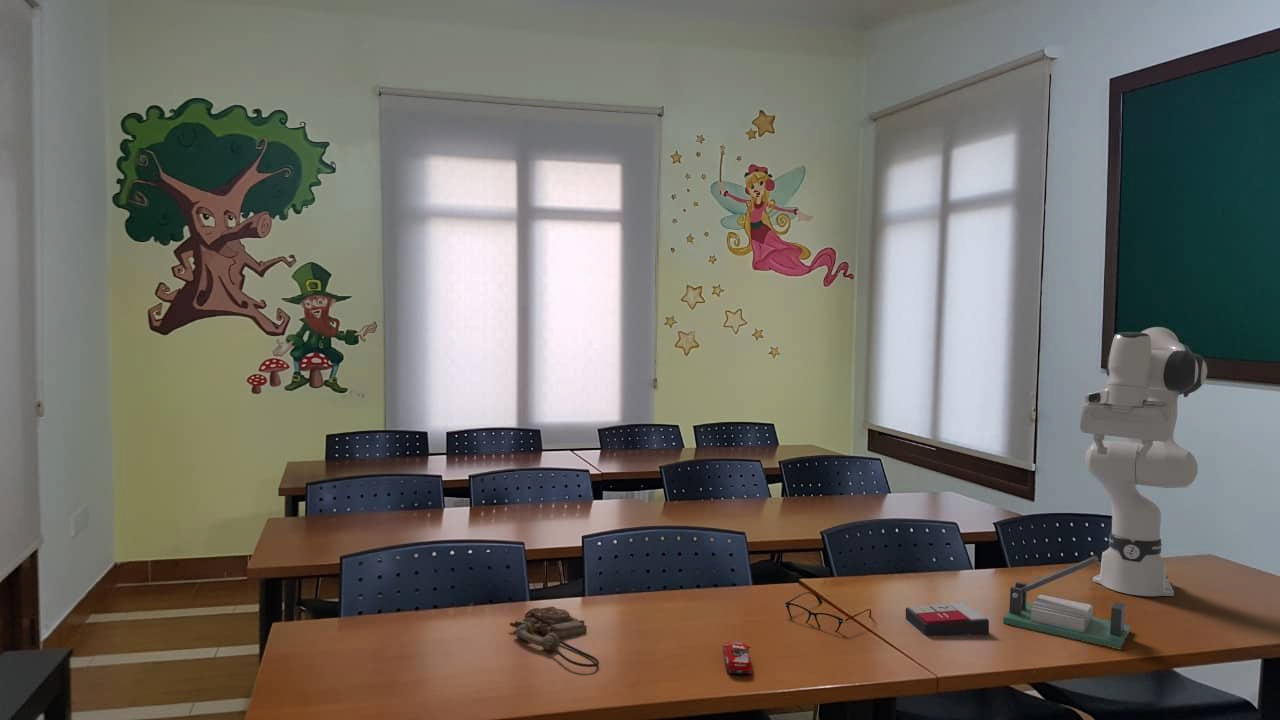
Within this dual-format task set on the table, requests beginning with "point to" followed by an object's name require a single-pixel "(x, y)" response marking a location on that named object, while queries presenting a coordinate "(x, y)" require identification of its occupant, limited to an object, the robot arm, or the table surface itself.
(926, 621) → the black and red box
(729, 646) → the race car
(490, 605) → the table surface
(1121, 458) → the robot arm
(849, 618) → the eyeglasses
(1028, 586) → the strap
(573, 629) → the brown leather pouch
